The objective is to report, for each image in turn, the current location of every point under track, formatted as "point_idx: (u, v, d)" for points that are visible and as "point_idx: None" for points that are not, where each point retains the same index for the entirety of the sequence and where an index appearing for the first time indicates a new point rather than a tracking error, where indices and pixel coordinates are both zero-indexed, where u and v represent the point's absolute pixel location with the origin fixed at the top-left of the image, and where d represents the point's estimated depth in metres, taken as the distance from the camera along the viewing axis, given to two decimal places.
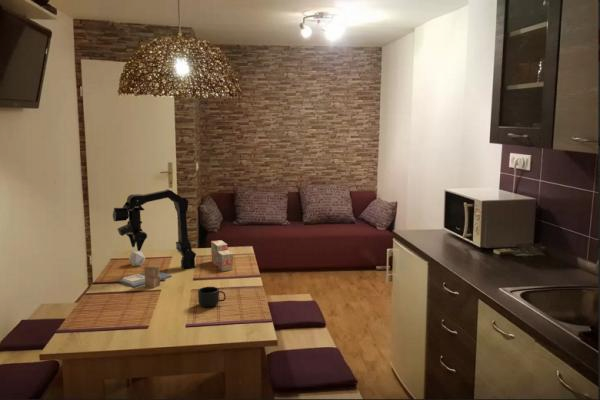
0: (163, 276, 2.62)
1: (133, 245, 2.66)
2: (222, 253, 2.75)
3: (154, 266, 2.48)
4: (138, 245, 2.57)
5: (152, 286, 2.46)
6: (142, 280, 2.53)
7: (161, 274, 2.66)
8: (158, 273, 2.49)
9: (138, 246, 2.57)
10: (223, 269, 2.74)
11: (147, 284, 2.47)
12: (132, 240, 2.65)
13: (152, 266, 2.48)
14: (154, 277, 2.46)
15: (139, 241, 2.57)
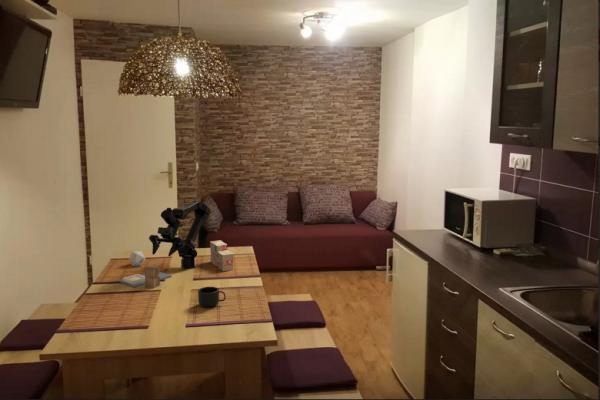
0: (163, 276, 2.62)
1: (154, 252, 2.57)
2: (222, 253, 2.75)
3: (154, 266, 2.48)
4: (172, 250, 2.54)
5: (152, 286, 2.46)
6: (142, 280, 2.53)
7: (161, 274, 2.66)
8: (158, 273, 2.49)
9: (172, 251, 2.54)
10: (223, 269, 2.74)
11: (147, 284, 2.47)
12: (155, 248, 2.58)
13: (152, 266, 2.48)
14: (154, 277, 2.46)
15: (174, 247, 2.56)
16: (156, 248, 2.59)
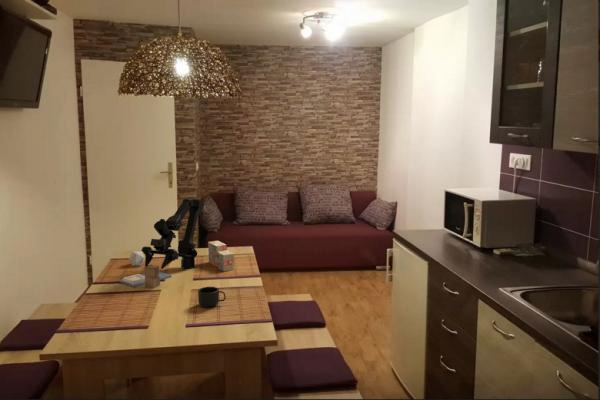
0: (163, 276, 2.62)
1: (146, 265, 2.51)
2: (223, 253, 2.75)
3: (154, 266, 2.48)
4: (165, 262, 2.49)
5: (152, 286, 2.46)
6: (142, 280, 2.53)
7: (161, 274, 2.66)
8: (158, 273, 2.49)
9: (165, 263, 2.49)
10: (224, 269, 2.74)
11: (147, 284, 2.47)
12: (148, 260, 2.53)
13: (152, 266, 2.48)
14: (154, 277, 2.46)
15: (167, 259, 2.50)
16: (149, 260, 2.54)
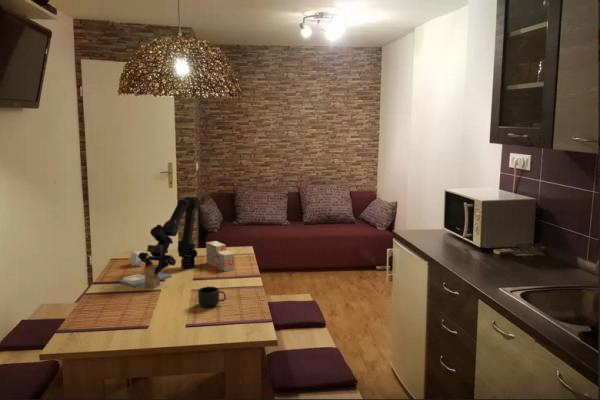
0: (163, 276, 2.62)
1: None
2: (223, 253, 2.75)
3: (154, 266, 2.48)
4: (159, 268, 2.47)
5: (152, 286, 2.46)
6: (142, 280, 2.53)
7: (161, 274, 2.66)
8: (158, 273, 2.49)
9: (158, 269, 2.47)
10: (225, 269, 2.74)
11: (147, 284, 2.47)
12: None
13: (152, 266, 2.48)
14: (154, 277, 2.46)
15: (161, 265, 2.49)
16: None
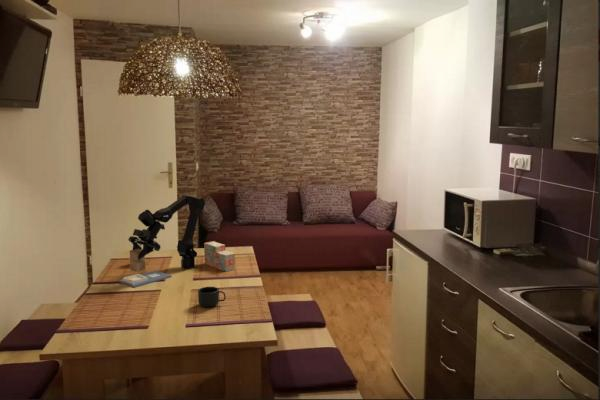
0: (163, 276, 2.62)
1: None
2: (224, 254, 2.75)
3: (139, 250, 2.51)
4: (143, 252, 2.49)
5: (135, 270, 2.49)
6: (142, 280, 2.53)
7: (161, 274, 2.66)
8: (143, 257, 2.51)
9: (142, 253, 2.49)
10: (226, 269, 2.74)
11: (132, 267, 2.51)
12: None
13: (137, 250, 2.51)
14: (137, 261, 2.48)
15: (146, 250, 2.51)
16: None
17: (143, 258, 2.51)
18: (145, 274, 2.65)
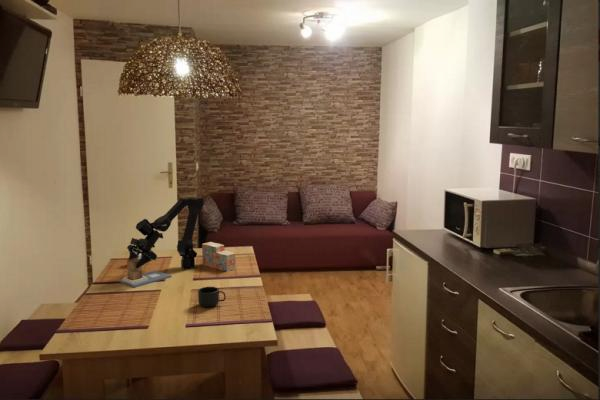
0: (163, 276, 2.62)
1: None
2: (225, 254, 2.74)
3: (136, 260, 2.53)
4: (141, 262, 2.51)
5: (132, 279, 2.52)
6: (142, 280, 2.53)
7: (161, 274, 2.66)
8: (140, 267, 2.54)
9: (140, 263, 2.51)
10: (228, 269, 2.73)
11: (129, 276, 2.53)
12: (131, 258, 2.57)
13: (134, 259, 2.53)
14: (133, 270, 2.51)
15: (144, 259, 2.52)
16: None
17: (140, 267, 2.54)
18: (145, 274, 2.65)
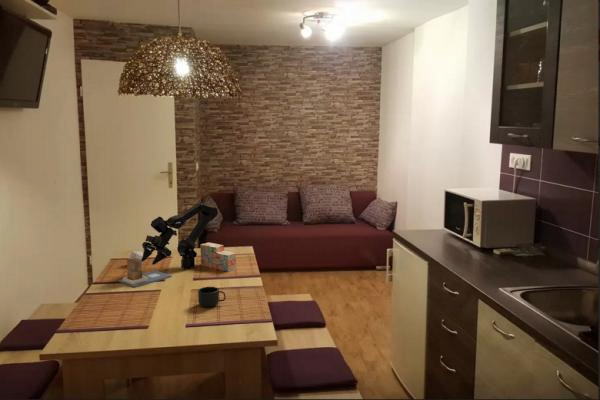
0: (163, 276, 2.62)
1: (143, 259, 2.63)
2: (225, 254, 2.74)
3: (136, 260, 2.53)
4: (157, 258, 2.57)
5: (132, 279, 2.52)
6: (142, 280, 2.53)
7: (161, 274, 2.66)
8: (140, 267, 2.54)
9: (156, 260, 2.57)
10: (229, 269, 2.73)
11: (129, 276, 2.53)
12: (145, 255, 2.64)
13: (134, 259, 2.53)
14: (133, 270, 2.51)
15: (160, 256, 2.58)
16: (147, 255, 2.65)
17: (140, 267, 2.54)
18: (145, 274, 2.65)
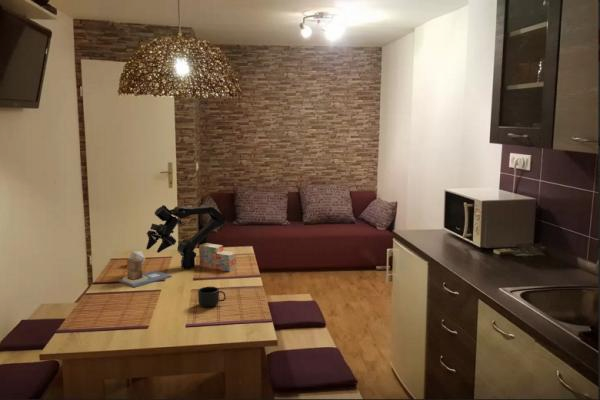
0: (163, 276, 2.62)
1: (148, 248, 2.66)
2: (226, 254, 2.74)
3: (136, 260, 2.53)
4: (161, 246, 2.61)
5: (132, 279, 2.52)
6: (142, 280, 2.53)
7: (161, 274, 2.66)
8: (140, 267, 2.54)
9: (160, 248, 2.60)
10: (230, 269, 2.73)
11: (129, 276, 2.53)
12: (150, 243, 2.67)
13: (134, 259, 2.53)
14: (133, 270, 2.51)
15: (164, 244, 2.62)
16: (151, 243, 2.68)
17: (140, 267, 2.54)
18: (145, 274, 2.65)
